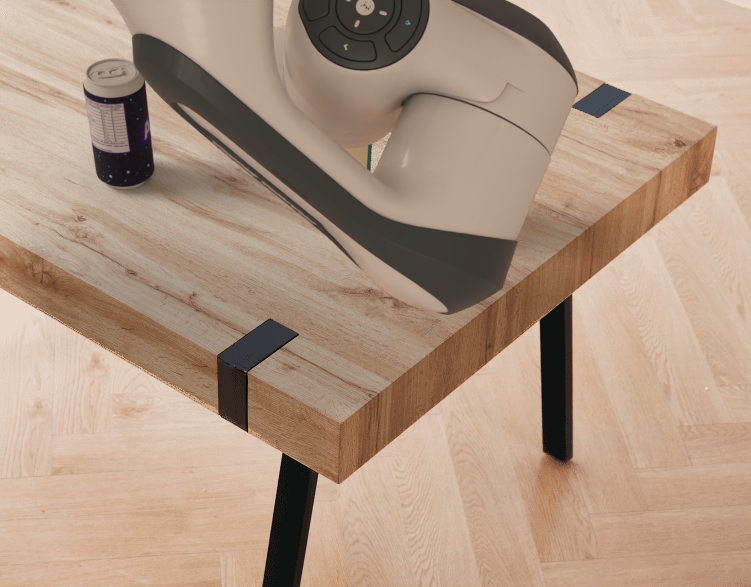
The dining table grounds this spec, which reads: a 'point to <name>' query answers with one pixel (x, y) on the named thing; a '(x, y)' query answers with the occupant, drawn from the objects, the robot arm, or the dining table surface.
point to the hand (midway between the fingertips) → (338, 123)
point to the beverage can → (119, 123)
